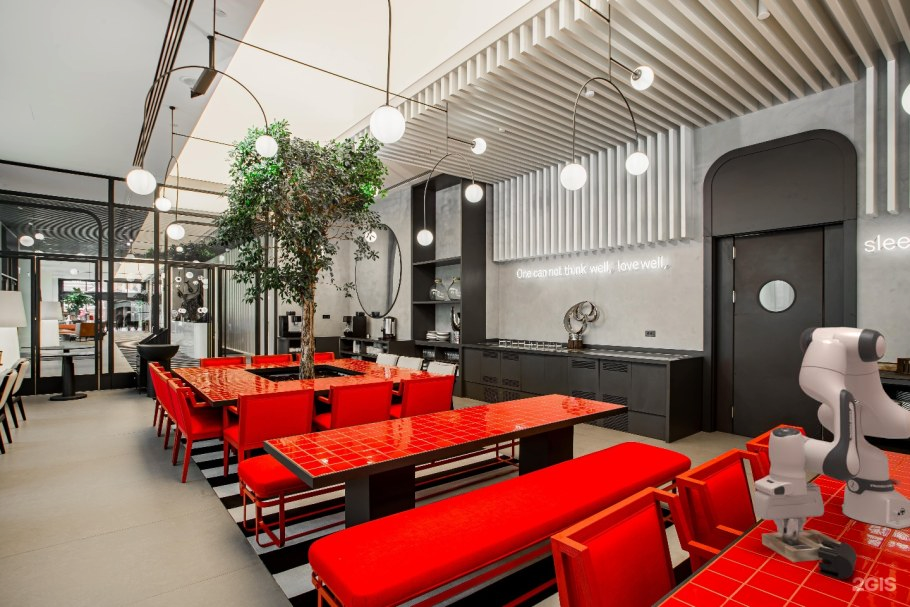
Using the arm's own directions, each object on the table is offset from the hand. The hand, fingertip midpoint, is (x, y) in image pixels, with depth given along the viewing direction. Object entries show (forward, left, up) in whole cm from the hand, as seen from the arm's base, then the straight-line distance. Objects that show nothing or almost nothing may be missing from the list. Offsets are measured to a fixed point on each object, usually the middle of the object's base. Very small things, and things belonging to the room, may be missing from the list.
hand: (790, 532), depth 136 cm
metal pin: (0, 0, -4) cm, 4 cm away
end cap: (-3, +12, -6) cm, 14 cm away
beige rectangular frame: (-5, 0, -6) cm, 7 cm away
